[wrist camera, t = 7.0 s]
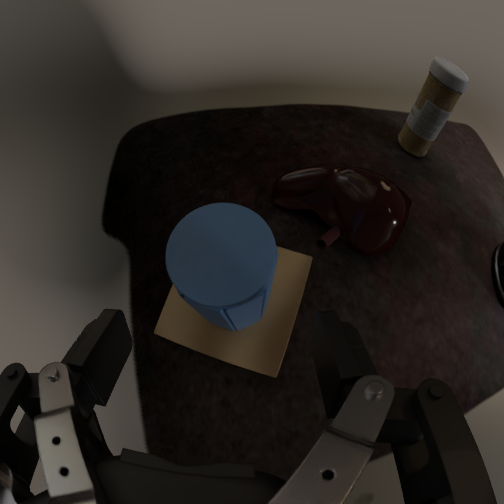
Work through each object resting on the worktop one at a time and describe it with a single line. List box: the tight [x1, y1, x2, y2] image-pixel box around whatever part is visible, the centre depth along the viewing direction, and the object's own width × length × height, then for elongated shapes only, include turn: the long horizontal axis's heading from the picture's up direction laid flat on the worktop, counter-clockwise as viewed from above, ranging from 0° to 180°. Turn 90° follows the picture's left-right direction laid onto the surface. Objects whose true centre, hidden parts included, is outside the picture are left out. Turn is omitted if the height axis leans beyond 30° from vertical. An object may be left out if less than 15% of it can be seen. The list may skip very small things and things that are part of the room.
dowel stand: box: [154, 247, 312, 378], centre depth 18 cm, size 10×10×9 cm
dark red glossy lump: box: [271, 165, 412, 256], centre depth 23 cm, size 6×12×11 cm
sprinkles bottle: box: [398, 57, 469, 157], centre depth 23 cm, size 5×5×14 cm
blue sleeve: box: [166, 203, 279, 331], centre depth 17 cm, size 5×5×9 cm
